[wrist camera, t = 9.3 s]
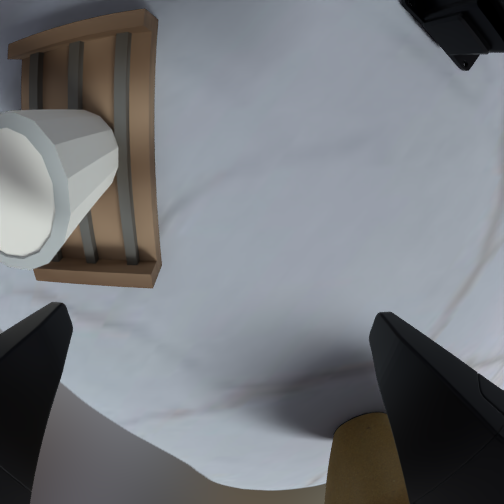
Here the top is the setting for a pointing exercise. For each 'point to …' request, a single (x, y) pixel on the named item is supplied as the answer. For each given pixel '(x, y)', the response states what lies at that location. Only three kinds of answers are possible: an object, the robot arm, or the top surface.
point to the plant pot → (365, 464)
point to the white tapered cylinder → (49, 179)
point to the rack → (125, 132)
